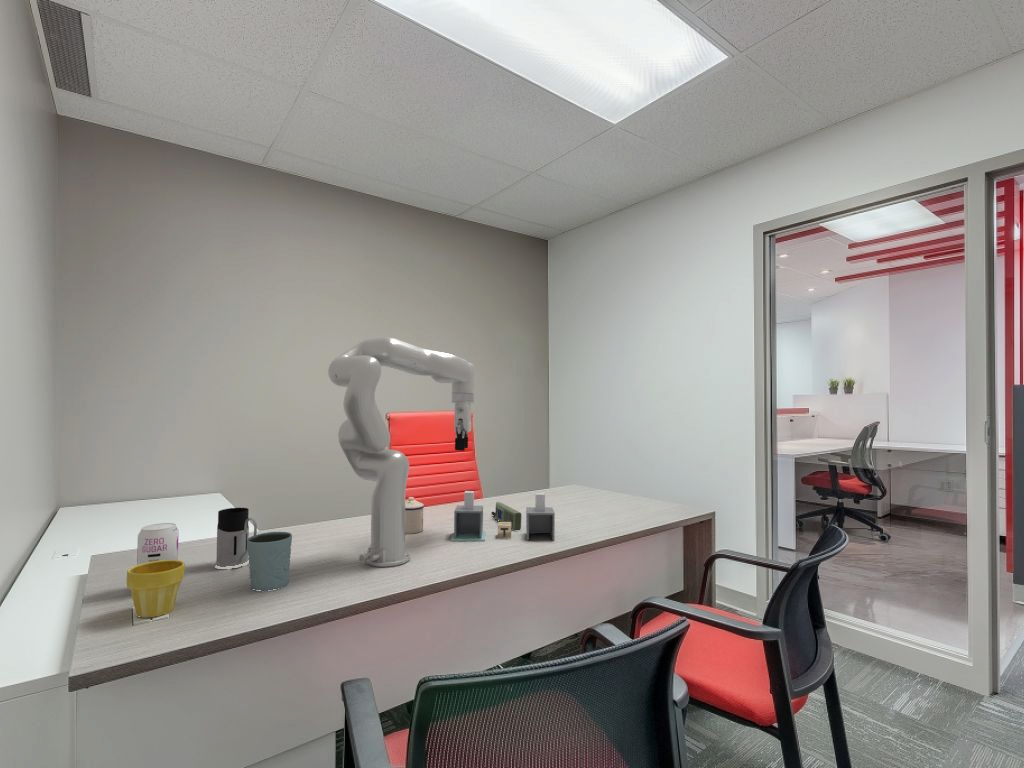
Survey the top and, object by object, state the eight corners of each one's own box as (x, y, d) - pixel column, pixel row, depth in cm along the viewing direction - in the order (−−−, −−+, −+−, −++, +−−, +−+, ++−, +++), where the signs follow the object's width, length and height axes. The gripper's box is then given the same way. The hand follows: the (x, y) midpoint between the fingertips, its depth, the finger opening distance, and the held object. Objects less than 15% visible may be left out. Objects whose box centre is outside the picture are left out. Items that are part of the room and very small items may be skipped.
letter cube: (511, 539, 171) (511, 525, 171) (497, 538, 171) (497, 525, 171) (511, 535, 176) (511, 522, 176) (498, 535, 176) (498, 522, 176)
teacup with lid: (428, 531, 180) (428, 498, 180) (404, 535, 174) (405, 501, 175) (412, 524, 189) (412, 492, 190) (389, 528, 184) (389, 495, 184)
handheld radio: (513, 532, 181) (488, 516, 204) (521, 531, 182) (496, 516, 205) (514, 512, 181) (489, 499, 204) (522, 512, 183) (497, 499, 205)
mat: (484, 541, 168) (484, 539, 168) (450, 541, 168) (450, 539, 168) (486, 532, 179) (486, 530, 179) (454, 532, 179) (454, 530, 179)
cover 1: (481, 538, 169) (481, 494, 169) (454, 538, 169) (454, 494, 169) (482, 531, 178) (483, 489, 178) (456, 531, 178) (457, 489, 178)
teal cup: (297, 585, 127) (298, 537, 128) (253, 596, 121) (254, 544, 121) (282, 575, 135) (283, 529, 135) (240, 584, 128) (241, 536, 128)
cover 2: (554, 540, 169) (554, 496, 170) (527, 540, 169) (527, 496, 169) (552, 533, 178) (552, 491, 178) (526, 533, 178) (526, 491, 178)
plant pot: (175, 598, 119) (176, 556, 119) (190, 611, 112) (191, 565, 112) (120, 612, 111) (121, 566, 111) (132, 626, 104) (134, 577, 105)
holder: (237, 557, 149) (238, 505, 150) (269, 565, 143) (270, 511, 143) (207, 566, 142) (208, 511, 142) (239, 575, 135) (241, 517, 135)
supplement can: (170, 580, 131) (171, 520, 131) (182, 587, 126) (183, 526, 126) (131, 589, 125) (133, 526, 125) (142, 597, 119) (144, 532, 120)
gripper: (471, 398, 167) (469, 451, 166) (475, 399, 184) (475, 447, 183) (447, 398, 167) (446, 451, 166) (455, 398, 184) (453, 447, 183)
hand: (461, 449), depth 175 cm, fingers open, 9 cm apart
